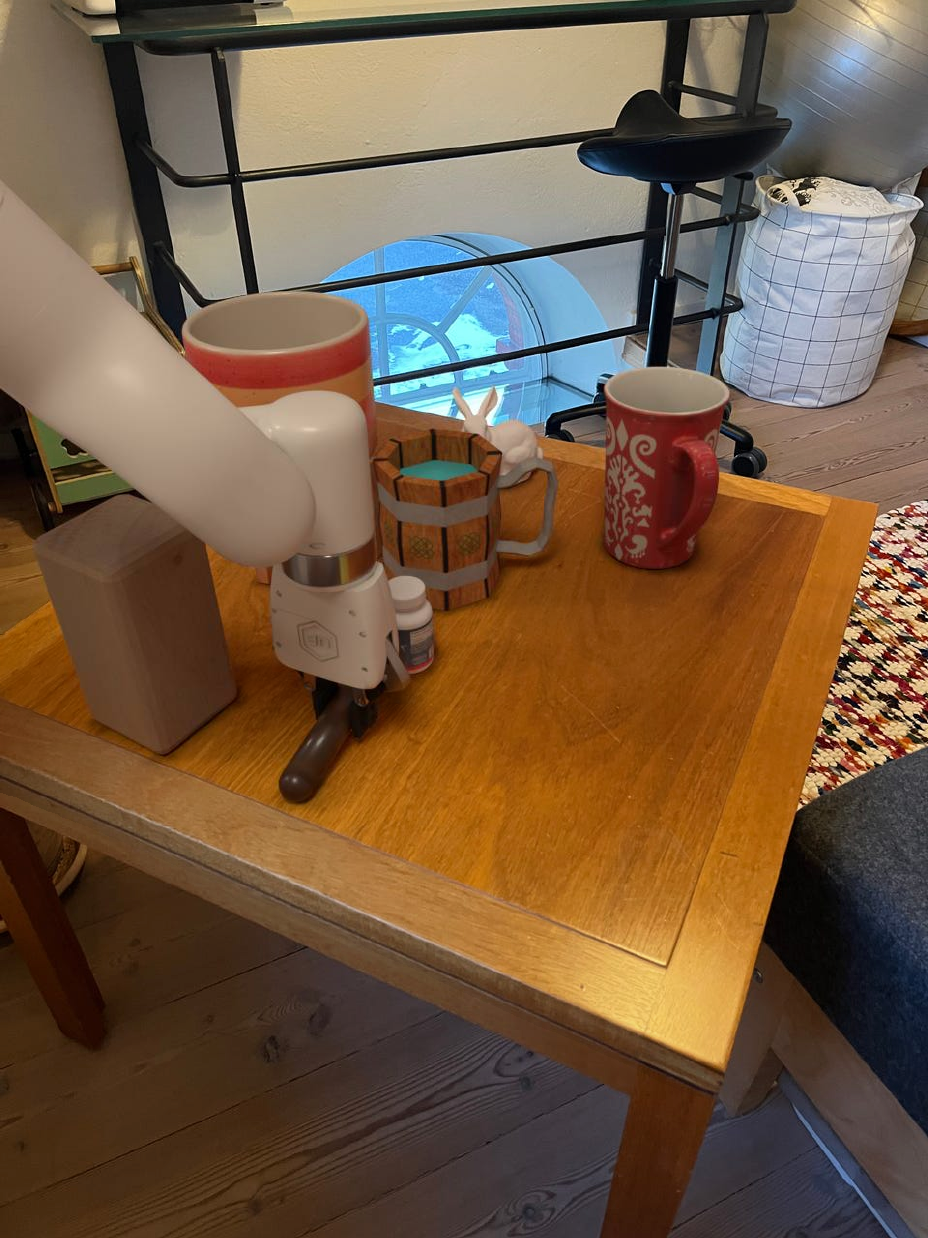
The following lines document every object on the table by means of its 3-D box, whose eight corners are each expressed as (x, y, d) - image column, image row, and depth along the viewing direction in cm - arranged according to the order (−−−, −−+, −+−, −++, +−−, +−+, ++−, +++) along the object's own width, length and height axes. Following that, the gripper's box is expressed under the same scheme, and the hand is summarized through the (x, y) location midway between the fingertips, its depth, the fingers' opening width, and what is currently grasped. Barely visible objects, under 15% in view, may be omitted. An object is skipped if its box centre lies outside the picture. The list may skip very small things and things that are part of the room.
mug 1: (384, 615, 98) (374, 491, 89) (380, 548, 109) (370, 432, 100) (565, 602, 99) (573, 479, 90) (543, 537, 110) (548, 421, 101)
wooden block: (242, 698, 87) (204, 517, 75) (163, 762, 81) (108, 575, 69) (169, 663, 92) (122, 486, 80) (88, 721, 85) (23, 538, 73)
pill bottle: (371, 658, 92) (364, 585, 87) (411, 636, 95) (407, 565, 90) (404, 683, 89) (399, 609, 84) (445, 660, 92) (442, 587, 86)
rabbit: (474, 499, 118) (474, 412, 111) (442, 469, 124) (439, 385, 117) (554, 478, 122) (559, 393, 115) (519, 450, 129) (521, 368, 122)
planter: (343, 601, 100) (316, 363, 84) (188, 568, 106) (135, 339, 90) (413, 514, 115) (402, 298, 99) (274, 489, 121) (243, 281, 105)
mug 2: (577, 523, 113) (588, 370, 101) (678, 512, 115) (701, 360, 103) (626, 609, 98) (646, 442, 86) (741, 595, 100) (776, 429, 88)
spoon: (318, 817, 76) (310, 797, 74) (265, 798, 78) (256, 778, 75) (416, 655, 87) (412, 633, 85) (368, 642, 89) (363, 620, 87)
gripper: (213, 551, 72) (247, 724, 83) (398, 600, 66) (408, 777, 77) (267, 508, 77) (292, 675, 88) (442, 550, 72) (445, 722, 83)
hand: (346, 721), depth 83 cm, fingers closed on spoon, 3 cm apart
